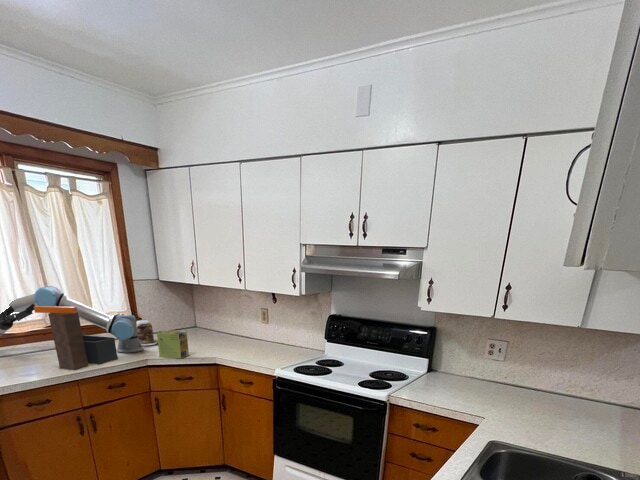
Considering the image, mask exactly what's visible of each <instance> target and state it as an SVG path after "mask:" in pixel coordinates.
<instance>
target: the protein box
mask: <svg viewBox="0 0 640 480" xmlns="http://www.w3.org/2000/svg"><path fill="white" fill-rule="evenodd" d="M156 338H157V343H158V344H157V347H158V355H159V358H168V359H170V358H171V359H183V358H186V357H189V356H190V351H189V350H190V349H189V342H188V331H186V330H173V329H165V330H160V331H157V332H156Z"/></svg>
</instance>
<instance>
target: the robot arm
mask: <svg viewBox="0 0 640 480" xmlns="http://www.w3.org/2000/svg"><path fill="white" fill-rule="evenodd" d="M15 299H16V300H14V299H13V300H14V301H12V302H11V303H10V304H9V306H10V307H9V308H8V309H6V310H5V311H4V312H2V313H1V314H0V337H1V336H2V335H5V333H7V331H8V330H10V329H11V328H12V327H13V326H14V323H15V322H16V321H17V322H20V321H22V320H23V319H25V318H27V317H29V316H31V315H33V314H34V312H33V311H34V307H35V306H65V307H77V312H78V314H79V320H83V321H85V322H86V323H87V322H88V323H90V324H92V325H95V326H97V327H100V328H102V329H103V330H104V329H105V331H106V333H108V334H110V335H113V336H114V338H115V339H118V344H117V353H123V354H129V353H130V354H132V353H139V352H142V351H143V347H144V348H147V347H149V348H150V347H155V346H158V342H156V343H153V344H148V345H147V344H146V345H144V344H143V345H142V343H140V341H139V339H138V333H137V326H136V324H137V322H136V321H137V319H136V316H135V315H134V314H133V315H131V314H129V315H128V314H127V315H126V314H125V315H116V314H113V315H109V314H107V313H105V312H102V311H99V310H97V309H94V308H92V307H90V306H88V305H85V304H83V303H81V302H79V301H76V300H75V299H74V300H73V299H71V298H69V297H68V295H67V294H66V293H63V292H62V290H60V289H59V288H58V287H57V286H53V285H46V286H42V287H39V288H38V289H37V290H36V291H35V292H34V293H32V294H28V295H25V296H22V297H18V298H15ZM13 312H19V313H15V314H12V315H10V314H11V313H13Z"/></svg>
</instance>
